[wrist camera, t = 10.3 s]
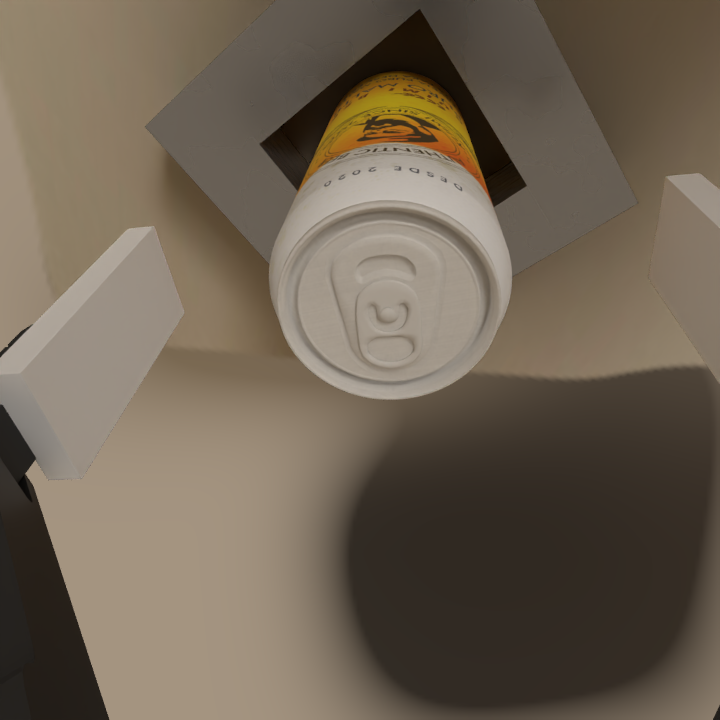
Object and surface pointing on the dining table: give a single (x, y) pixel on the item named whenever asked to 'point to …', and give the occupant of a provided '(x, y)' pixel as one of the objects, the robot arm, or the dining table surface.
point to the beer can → (391, 246)
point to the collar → (342, 50)
